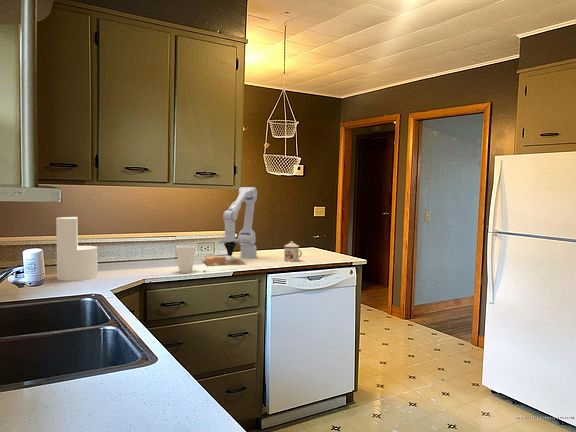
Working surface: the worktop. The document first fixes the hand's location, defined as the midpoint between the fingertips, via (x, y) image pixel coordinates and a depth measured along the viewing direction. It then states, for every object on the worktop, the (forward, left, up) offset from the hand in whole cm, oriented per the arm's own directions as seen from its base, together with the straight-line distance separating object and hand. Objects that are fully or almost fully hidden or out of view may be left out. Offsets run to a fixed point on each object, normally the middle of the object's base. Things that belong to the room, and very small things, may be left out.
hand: (229, 255), depth 252 cm
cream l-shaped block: (+77, +18, -5) cm, 79 cm away
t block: (+8, -1, -4) cm, 9 cm away
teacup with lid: (-39, -3, -5) cm, 40 cm away
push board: (+4, 0, -5) cm, 6 cm away
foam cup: (+27, +17, -5) cm, 32 cm away
